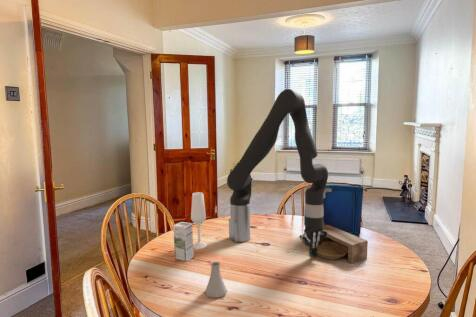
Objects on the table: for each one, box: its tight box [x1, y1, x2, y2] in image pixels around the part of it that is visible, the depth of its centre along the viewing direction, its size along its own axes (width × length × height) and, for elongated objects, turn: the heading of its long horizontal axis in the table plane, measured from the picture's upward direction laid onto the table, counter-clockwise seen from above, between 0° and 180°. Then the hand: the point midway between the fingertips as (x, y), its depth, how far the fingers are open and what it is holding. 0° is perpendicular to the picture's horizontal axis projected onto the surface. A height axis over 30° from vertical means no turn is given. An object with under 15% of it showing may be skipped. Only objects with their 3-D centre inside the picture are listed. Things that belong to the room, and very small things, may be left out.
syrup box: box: [173, 221, 194, 262], centre depth 126 cm, size 6×6×14 cm
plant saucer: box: [316, 241, 348, 260], centre depth 129 cm, size 15×15×3 cm
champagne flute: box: [190, 191, 208, 250], centre depth 138 cm, size 7×7×24 cm
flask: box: [204, 261, 228, 299], centre depth 101 cm, size 7×7×10 cm
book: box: [323, 181, 364, 236], centre depth 151 cm, size 22×7×25 cm, turn 84°
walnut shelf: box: [319, 225, 369, 264], centre depth 131 cm, size 8×22×8 cm, turn 28°
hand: (313, 255), depth 125 cm, fingers closed
